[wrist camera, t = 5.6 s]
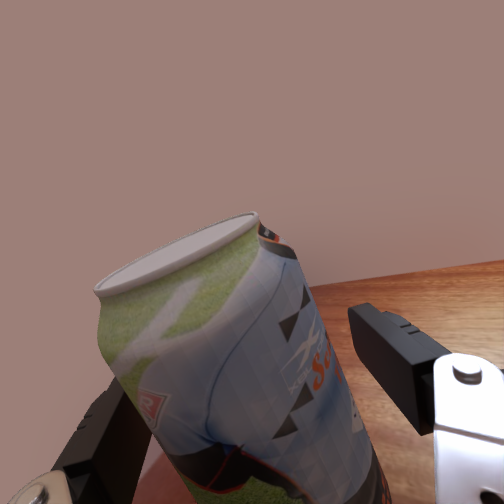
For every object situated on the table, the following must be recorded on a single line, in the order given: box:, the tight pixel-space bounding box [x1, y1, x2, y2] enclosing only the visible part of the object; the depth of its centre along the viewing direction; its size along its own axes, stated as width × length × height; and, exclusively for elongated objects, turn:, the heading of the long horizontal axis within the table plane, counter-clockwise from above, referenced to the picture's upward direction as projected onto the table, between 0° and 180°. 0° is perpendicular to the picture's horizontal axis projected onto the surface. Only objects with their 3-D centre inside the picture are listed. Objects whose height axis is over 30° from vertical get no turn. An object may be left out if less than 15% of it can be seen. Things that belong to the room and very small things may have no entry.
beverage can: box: [93, 212, 392, 504], centre depth 9 cm, size 6×7×12 cm
